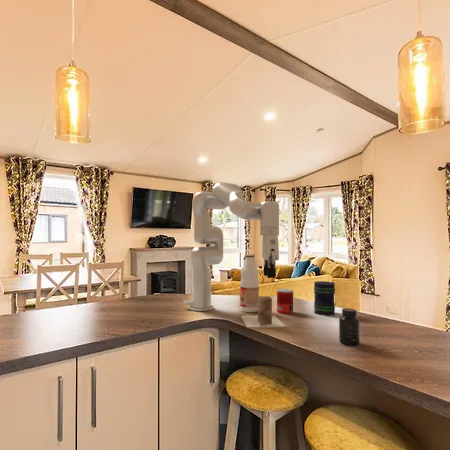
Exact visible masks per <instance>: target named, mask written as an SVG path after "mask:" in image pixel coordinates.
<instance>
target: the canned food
mask: <svg viewBox="0 0 450 450" xmlns="http://www.w3.org/2000/svg"><path fill="white" fill-rule="evenodd" d="M276 311H277V313H278V314H282V315H290V314H293V312H294V290H293V289H289V288H278V289H277V290H276Z"/></svg>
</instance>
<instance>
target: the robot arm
mask: <svg viewBox="0 0 450 450" xmlns="http://www.w3.org/2000/svg"><path fill="white" fill-rule="evenodd" d="M244 199H245V197H244V193H243V192H242V188H241V187H240V186H239V185H238V184H236V183H230V182H222V181H221V182H218V183H216V184H215V185H214V186H213V188H212V191H198V192H197V193H196V194H194V196H193V198H192V203H191V204H192V205H191V208H192V213H193V221H194V222H193V239H194V242H195V243H196V244H199V245H210V246H197V247H194V248H193V249H192V250H191V252H190V260H191V265H192V266H191V267H192V286H191V287H192V294H191V295H192V297H191V299H190V300H183V305H185V306H188V308H189V310H191V311H194V312H207V311H212V310H214V309H215V307H214V305H213V304H212V272H211V270H210V267H209V266H211V265H212V266H215V265H219V264H221V263H222V262H223V259H224V233H223V231H222V229H221V228H220V227H219V226H216V225H215V226H214V225H212V223H211V216H210V213H209V212H208V210H209V209H210V210H223V209H226V208H228V209H229V211H230V212H231V213H232V214H233V215H235V216H237V217H238V218H239V219H242V220H249V221H251V220H253V221H259V222H260V223H259V224H260V227H259V231H260V232H259V234H260V236H262V238H261V239H262V242H261V243H262V244H261V256H262V259H263V276H265V277H267V278H268V279H275V278H276V275H277V274H276V273H277V272H276V269H277V268H276V261H279V260H280V253H279V251H280V250H279V246H280V245H279V236H280V204H279V202H278V201H276V200H275V201H274V200H273V201H272V200H266V201H262V202H258V201H247V200H244ZM207 209H208V210H207Z"/></svg>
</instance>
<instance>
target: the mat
mask: <svg viewBox="0 0 450 450" xmlns="http://www.w3.org/2000/svg"><path fill="white" fill-rule="evenodd" d="M240 316H241V319H242V321H243V322H244V324H245V326H246V327H247V329H255V328H258V329H260V328H286V325H285V324H284V323H283V322H282V321H281V320H280V319H279V318H278V317H277V316H276V315H275V314H272V325H266V326H260V325H259V323H258V314H256V315H240Z"/></svg>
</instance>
